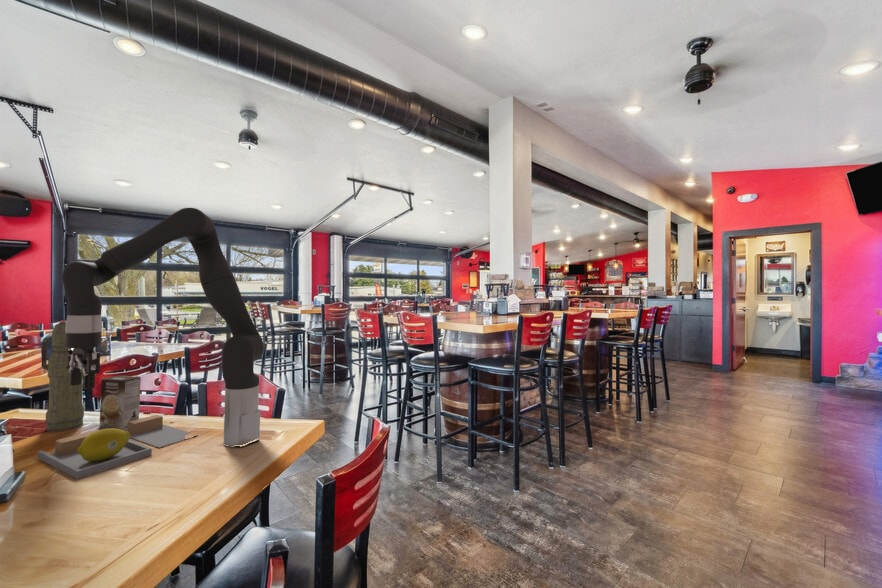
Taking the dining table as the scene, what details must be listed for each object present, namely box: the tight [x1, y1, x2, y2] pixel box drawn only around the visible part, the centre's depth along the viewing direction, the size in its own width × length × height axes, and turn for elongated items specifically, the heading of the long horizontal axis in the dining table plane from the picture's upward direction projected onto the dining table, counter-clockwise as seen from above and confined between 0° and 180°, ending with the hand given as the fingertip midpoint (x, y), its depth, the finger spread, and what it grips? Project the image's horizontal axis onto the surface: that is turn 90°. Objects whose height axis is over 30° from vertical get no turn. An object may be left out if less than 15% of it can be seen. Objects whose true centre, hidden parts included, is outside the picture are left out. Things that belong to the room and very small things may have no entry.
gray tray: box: [37, 429, 153, 480], centre depth 99 cm, size 24×16×4 cm, turn 64°
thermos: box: [41, 321, 85, 432], centre depth 121 cm, size 9×12×35 cm
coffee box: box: [99, 375, 141, 429], centre depth 124 cm, size 9×6×16 cm
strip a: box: [127, 414, 191, 449], centre depth 115 cm, size 22×11×4 cm, turn 64°
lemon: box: [77, 427, 131, 462], centre depth 97 cm, size 11×8×8 cm
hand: (82, 386), depth 104 cm, fingers open, 8 cm apart
